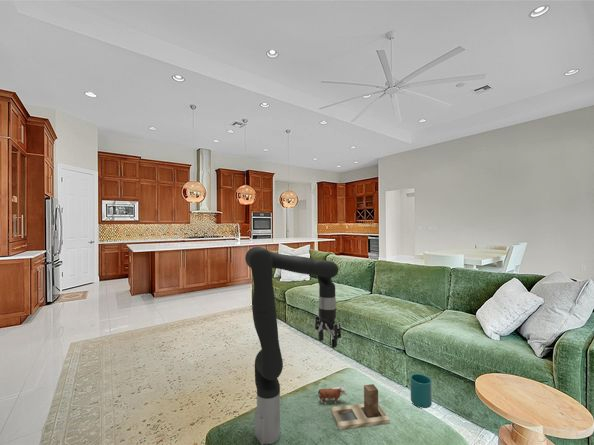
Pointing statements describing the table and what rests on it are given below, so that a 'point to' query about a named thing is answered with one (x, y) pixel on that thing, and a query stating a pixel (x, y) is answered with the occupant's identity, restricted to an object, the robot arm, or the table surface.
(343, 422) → the puzzle board
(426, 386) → the cup
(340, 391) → the bull figurine
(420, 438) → the table surface
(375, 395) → the walnut block
